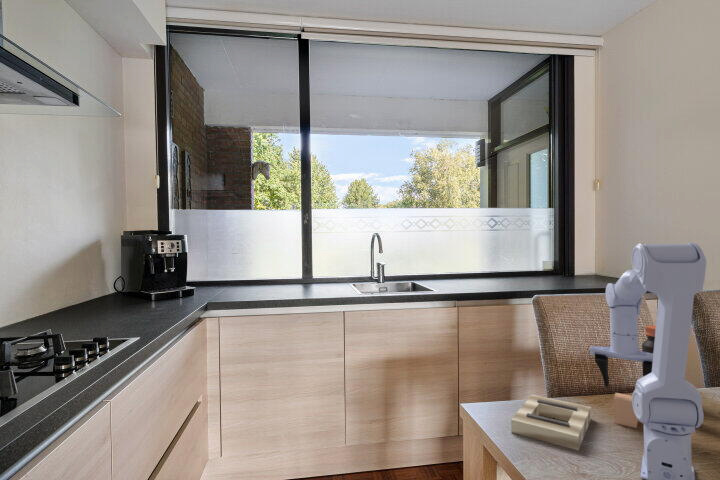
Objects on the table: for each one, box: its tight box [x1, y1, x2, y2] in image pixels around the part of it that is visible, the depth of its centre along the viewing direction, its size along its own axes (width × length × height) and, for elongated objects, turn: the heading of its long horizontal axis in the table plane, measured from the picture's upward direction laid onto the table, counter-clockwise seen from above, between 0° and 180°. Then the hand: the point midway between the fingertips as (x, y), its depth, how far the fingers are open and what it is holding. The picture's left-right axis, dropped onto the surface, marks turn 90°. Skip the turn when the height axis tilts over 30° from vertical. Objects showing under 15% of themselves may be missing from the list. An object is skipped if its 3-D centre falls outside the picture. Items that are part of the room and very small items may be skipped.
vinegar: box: [641, 325, 656, 370], centre depth 109 cm, size 7×7×20 cm
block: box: [613, 392, 639, 429], centre depth 97 cm, size 4×4×6 cm
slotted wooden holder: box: [510, 394, 592, 451], centre depth 96 cm, size 18×14×4 cm
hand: (625, 388), depth 97 cm, fingers open, 7 cm apart
